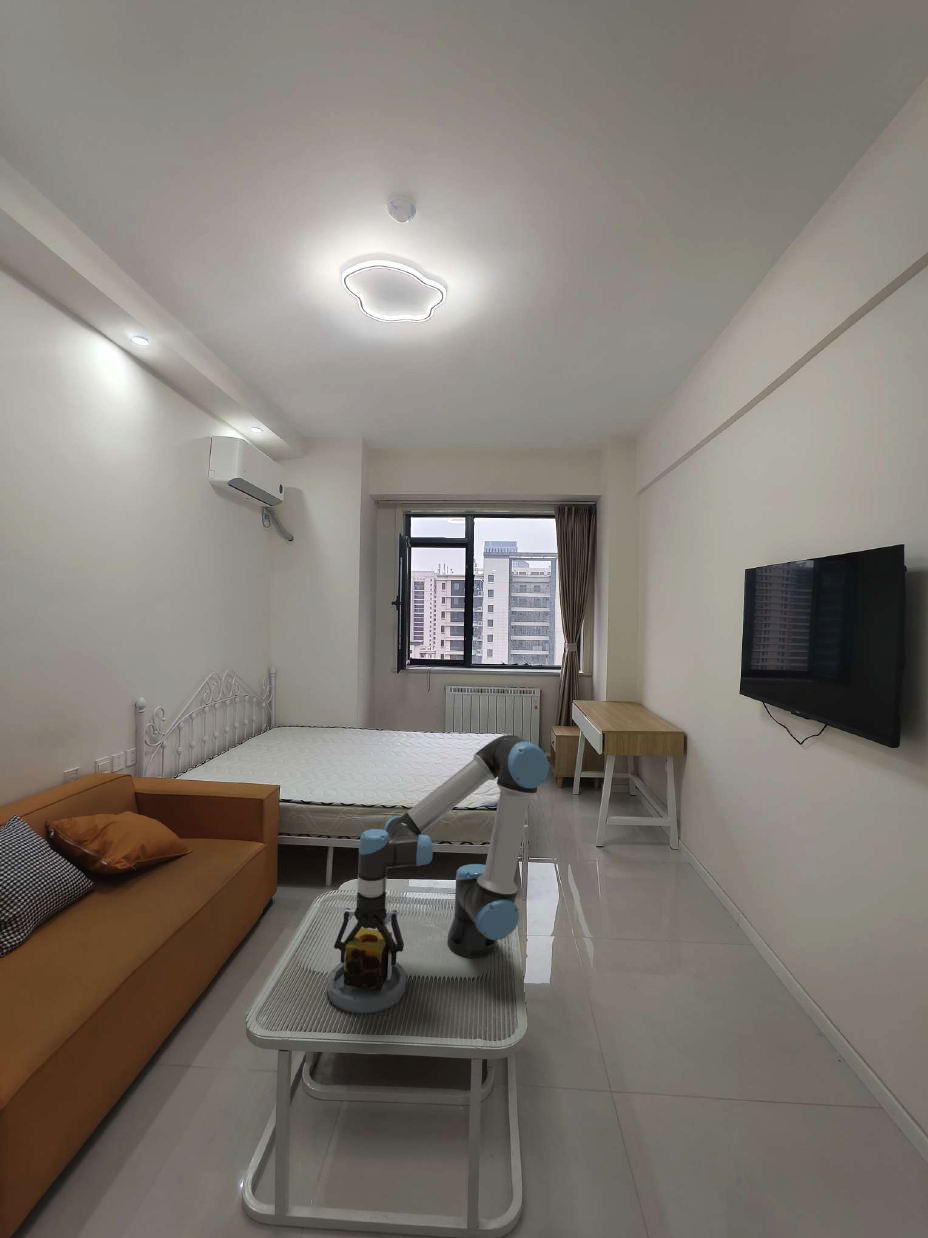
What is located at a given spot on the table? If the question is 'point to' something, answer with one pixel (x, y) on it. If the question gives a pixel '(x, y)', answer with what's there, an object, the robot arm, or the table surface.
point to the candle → (366, 960)
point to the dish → (366, 992)
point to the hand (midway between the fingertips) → (367, 975)
